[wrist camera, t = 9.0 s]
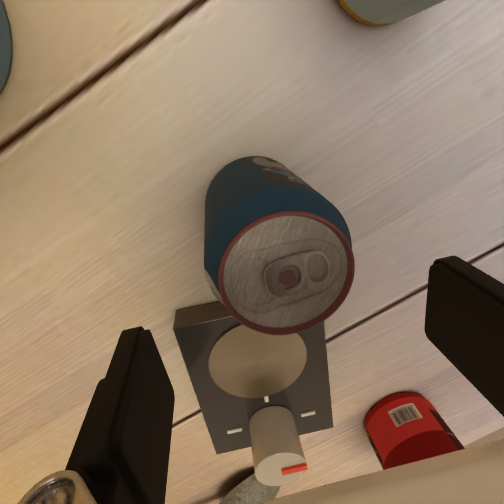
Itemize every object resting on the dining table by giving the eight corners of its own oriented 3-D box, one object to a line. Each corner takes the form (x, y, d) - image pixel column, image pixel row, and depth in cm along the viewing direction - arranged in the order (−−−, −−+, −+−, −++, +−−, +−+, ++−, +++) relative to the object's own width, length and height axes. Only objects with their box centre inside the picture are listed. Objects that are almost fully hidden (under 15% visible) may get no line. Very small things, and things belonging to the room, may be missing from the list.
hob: (175, 310, 27) (172, 329, 25) (312, 280, 28) (322, 297, 25) (218, 439, 34) (219, 464, 32) (326, 414, 35) (334, 437, 33)
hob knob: (252, 441, 31) (259, 495, 27) (244, 411, 30) (250, 464, 25) (296, 431, 32) (310, 483, 27) (290, 401, 30) (305, 451, 25)
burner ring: (300, 309, 26) (302, 311, 25) (310, 383, 29) (311, 386, 29) (197, 331, 25) (197, 334, 25) (220, 404, 29) (220, 407, 29)
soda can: (220, 254, 25) (230, 363, 15) (192, 168, 22) (177, 226, 12) (304, 230, 25) (375, 321, 15) (287, 141, 22) (360, 175, 12)
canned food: (349, 429, 36) (402, 550, 27) (392, 381, 34) (468, 494, 24) (397, 444, 39) (463, 560, 29) (441, 400, 36) (529, 510, 26)
